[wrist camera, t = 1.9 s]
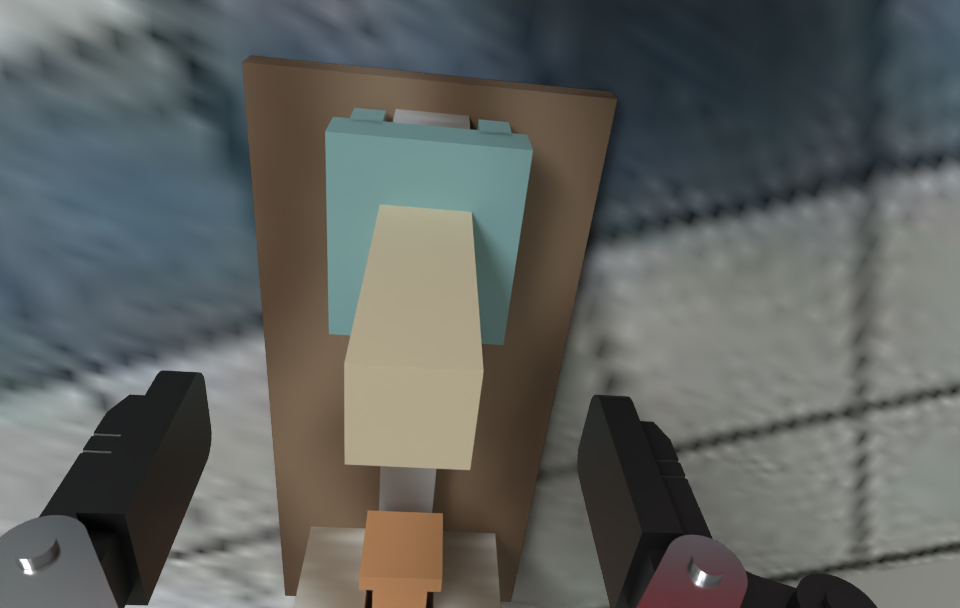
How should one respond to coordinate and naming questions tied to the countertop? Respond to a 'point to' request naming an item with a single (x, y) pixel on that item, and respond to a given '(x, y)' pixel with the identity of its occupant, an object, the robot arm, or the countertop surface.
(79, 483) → the robot arm
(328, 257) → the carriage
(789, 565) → the countertop surface
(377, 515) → the button
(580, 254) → the rail bench
